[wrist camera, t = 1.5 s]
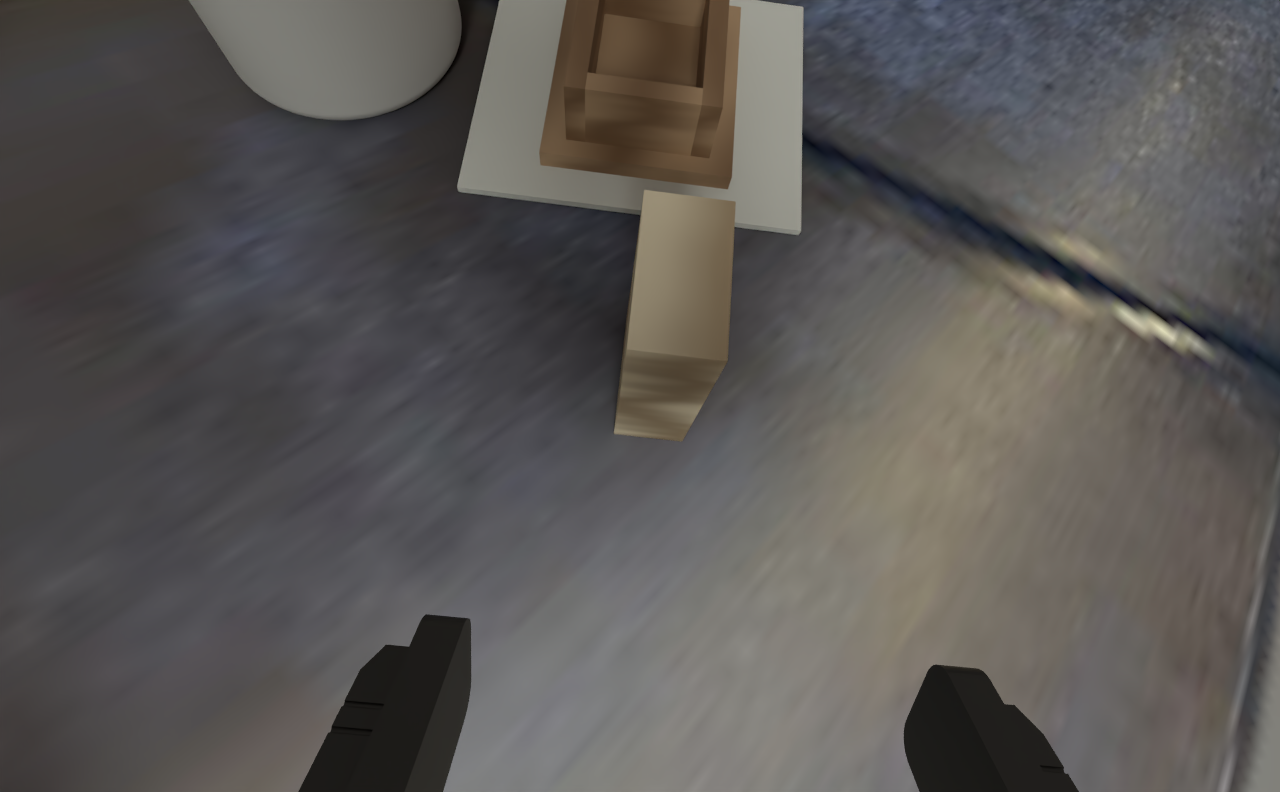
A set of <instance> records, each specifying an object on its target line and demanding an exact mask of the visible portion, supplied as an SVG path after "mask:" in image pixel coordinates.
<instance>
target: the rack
mask: <svg viewBox="0 0 1280 792" xmlns="http://www.w3.org/2000/svg"><path fill="white" fill-rule="evenodd" d="M729 1H730V0H566V6H565V11H564V17H563V22H562V28H561V33H560V39H559V44H558V50H557V56H556V61H555V67H554V72H553V78H552V83H551V89H550V94H549V100H548V106H547V111H546V117H545V122H544V128H543V133H542V139H541V145H540V150H539V155H540V165H543V166H551V167H559V168H566V169H574V170H582V171H589V172H597V173H605V174H612V175H620V176H628V177H636V178H643V179H651V180H659V181H666V182H674V183H682V184H689V185H697V186H705V187H713V188H720V189H728V187H729V184H730V181H731V178H732V166H733V148H734V129H735V111H736V92H737V74H738V55H739V37H740V19H741V7H737V6H730V5H729Z"/></svg>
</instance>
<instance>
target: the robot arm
mask: <svg viewBox="0 0 1280 792" xmlns="http://www.w3.org/2000/svg"><path fill="white" fill-rule="evenodd" d="M470 688H471V622H470V619H469V618H458V617H448V616H437V615H425V616H424V617H423V618H422V620H421V622H420V624H419V626H418V628H417V630H416V633H415V635H414V637H413V639H412V642H411V644H410V646H409V647H406V646H395V645H385V646H384V647H383V648H382V649H381V650H380V651H379V652H378V653H377V654H376V655H375V656H374V657H373V658H372V659H371V660H370V661H369V662H368V663H367V664H366V665H365V666H364V667H363V668H362V669H360V671H359V673H358V675H357V677H356V679H355V681H354V683H353V685H352V687H351V689H350V691H349V693H348V695H347V697H346V699H345V703H344V706H342V707H341V709H340V711H339V713H338V715H337V717H336V719H335V721H334V723H333V725H332V729H331V732H330V733H328V734H327V736H326V738H325V740H324V742H323V744H322V746H321V748H320V750H319V752H318V754H317V756H316V758H315V760H314V762H313V764H312V766H311V768H310V770H309V772H308V774H307V776H306V778H305V780H304V782H303V784H302V786H301V788H300V790H299V792H443V790H444V786H445V783H446V780H447V776H448V773H449V770H450V766H451V763H452V760H453V756H454V753H455V750H456V746H457V743H458V740H459V736H460V733H461V730H462V726H463V723H464V719H465V716H466V712H467V707H468V702H469V696H470ZM904 746H905V752H906V756H907V760H908V763H909V766H910V768H911V771H912V773H913V776H914V779H915V781H916V784H917V786H918V789H919V791H920V792H1079V791H1078V790H1077V788H1076V786H1075V785H1074V783H1073V781H1072V780H1071V778H1070V777H1069V775H1068V774H1065V773H1064V770H1063V768H1064V767H1063V765H1062V764H1061V762H1060V760H1059V759H1058V757H1057V755H1056V754H1055V752H1054V751H1053V749H1052V747H1051V746H1050V744H1049V742H1048V741H1047V739H1046V738H1045V736H1044V734H1043V733H1042V732H1041V731H1040V730H1039V729H1038V728H1037V727H1036V726H1035V725H1034V724H1033V723H1032V722H1031V721H1030V720H1029V719H1028V718H1027V717H1026V716H1025V715H1024V714H1023V713H1022V712H1021V711H1020V710H1019V709H1018V708H1017V707H1016V706H1015V705H1006V704H1004V703H1003V701H1002V700H1001V698H1000V696H999V694H998V693H997V691H996V689H995V687H994V686H993V684H992V682H991V681H990V679H989V678H988V676H987V675H986V674H985V673H984V672H983V671H982V670H980V669H976V668H965V667H955V666H944V665H933V666H932V667H931V668H930V669H929V670H928V672H927V674H926V677H925V679H924V681H923V683H922V686H921V688H920V690H919V692H918V695H917V697H916V699H915V702H914V704H913V706H912V708H911V711H910V713H909V715H908V717H907V720H906V723H905V727H904Z"/></svg>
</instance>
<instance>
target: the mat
mask: <svg viewBox="0 0 1280 792" xmlns="http://www.w3.org/2000/svg"><path fill="white" fill-rule="evenodd" d="M729 5H730V6H737V7H741V19H740V37H739V55H738V74H737V92H736V111H735V129H734V148H733V166H732V178H731V181H730V184H729V187H728V189H720V188H713V187H705V186H697V185H689V184H682V183H674V182H666V181H659V180H651V179H643V178H636V177H628V176H620V175H612V174H605V173H597V172H589V171H582V170H574V169H566V168H559V167H551V166H543V165H540V155H539V150H540V145H541V139H542V133H543V128H544V122H545V117H546V111H547V106H548V100H549V94H550V89H551V83H552V78H553V72H554V67H555V61H556V56H557V50H558V44H559V39H560V33H561V28H562V22H563V17H564V11H565V6H566V0H500V1H499V5H498V9H497V14H496V18H495V22H494V27H493V31H492V36H491V40H490V44H489V49H488V53H487V58H486V62H485V66H484V71H483V75H482V79H481V84H480V88H479V93H478V97H477V101H476V106H475V110H474V115H473V119H472V123H471V128H470V132H469V136H468V141H467V145H466V150H465V154H464V158H463V163H462V167H461V172H460V176H459V180H458V185H457V189H458V192H464V193H472V194H479V195H487V196H495V197H503V198H511V199H519V200H527V201H534V202H542V203H550V204H558V205H566V206H574V207H582V208H589V209H597V210H605V211H613V212H621V213H629V214H637V215H641V209H642V202H643V194H644V190H650V191H658V192H666V193H674V194H681V195H689V196H697V197H704V198H712V199H720V200H727V201H735V202H736V207H735V226H734V227H739V228H747V229H754V230H762V231H770V232H778V233H786V234H794V235H799V234H800V232H801V184H802V83H803V7H799V6H792V5H785V4H778V3H771V2H764V1H757V0H730V1H729Z"/></svg>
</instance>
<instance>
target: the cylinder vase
mask: <svg viewBox="0 0 1280 792" xmlns="http://www.w3.org/2000/svg"><path fill="white" fill-rule="evenodd" d="M189 1H190V3H191V4H192V6H193V7H194V9H195V11H196V12H197V14H198V15H199V17H200V18H201V20H202V21H203V23H204V24H205V26H206V27H207V29H208V30H209V32H210V33H211V35H212V36H213V38H214V40H215V41H216V43H217V44H218V46H219V47H220V49H221V50H222V52H223V53H224V55H225V56H226V58H227V59H228V61H229V62H230V64H231V65H232V67H233V69H234V70H235V71H236V73H237V74H238V75H239V77H240V78H241V79H242V80H243V81H244V82H245V83H246V84H247V85H248V86H249V87H250V88H251V89H252V90H253V91H254V92H256V93H257V94H258V95H259V96H261V97H262V98H264V99H265V100H267V101H269V102H270V103H272V104H274V105H276V106H278V107H280V108H282V109H285V110H287V111H290V112H293V113H296V114H299V115H303V116H307V117H311V118H317V119H325V120H356V119H364V118H370V117H375V116H379V115H382V114H386V113H389V112H392V111H394V110H397V109H399V108H402V107H404V106H406V105H408V104H410V103H411V102H413V101H415V100H417V99H418V98H420V97H421V96H423V95H424V94H425V93H427V92H428V91H429V90H430V89H431V88H433V87H434V86H435V85H436V84H437V83H438V82H439V81H440V79H441V78H442V77H443V76H444V75H445V73H446V72H447V70H448V69H449V67H450V66H451V64H452V62H453V60H454V58H455V56H456V53H457V51H458V47H459V44H460V39H461V30H462V22H461V13H460V8H459V4H458V0H189Z"/></svg>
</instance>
